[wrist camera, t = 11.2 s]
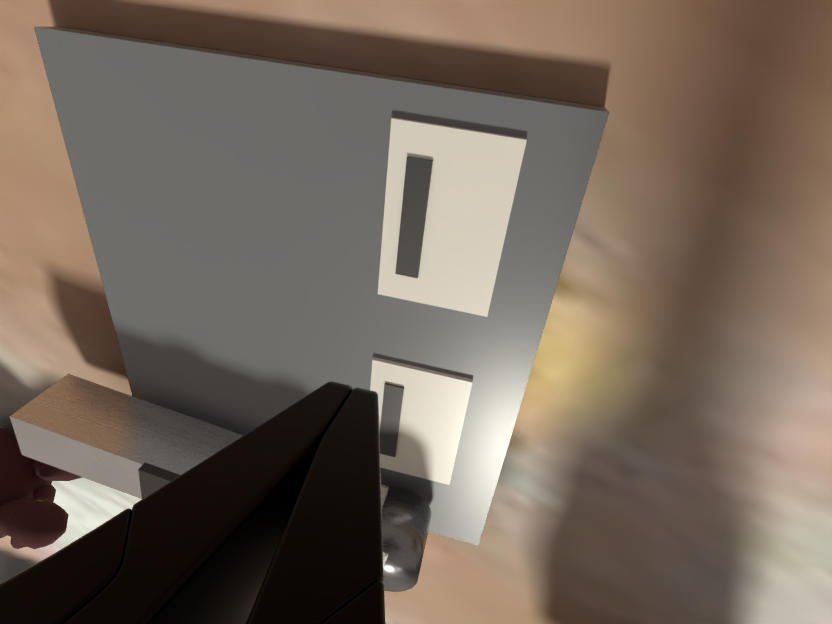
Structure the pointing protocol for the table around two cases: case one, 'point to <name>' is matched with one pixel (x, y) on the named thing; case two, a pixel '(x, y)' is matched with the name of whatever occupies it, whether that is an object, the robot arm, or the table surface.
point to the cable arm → (174, 457)
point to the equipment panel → (325, 242)
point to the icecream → (29, 497)
